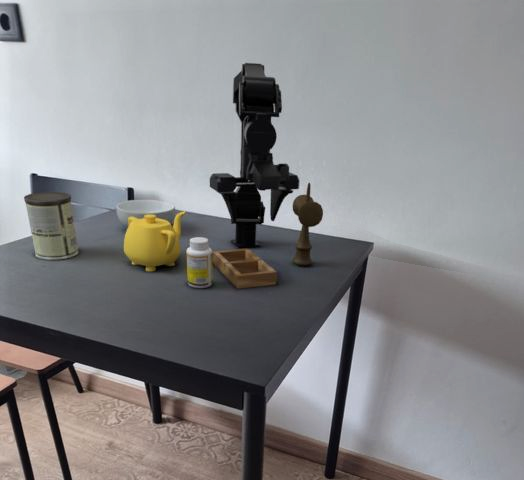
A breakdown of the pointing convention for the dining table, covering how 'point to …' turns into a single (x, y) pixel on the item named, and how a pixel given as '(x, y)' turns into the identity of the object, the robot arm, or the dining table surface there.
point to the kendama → (306, 225)
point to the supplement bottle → (199, 263)
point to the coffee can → (52, 225)
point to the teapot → (153, 241)
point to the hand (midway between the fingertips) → (253, 221)
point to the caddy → (244, 268)
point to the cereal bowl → (145, 210)
